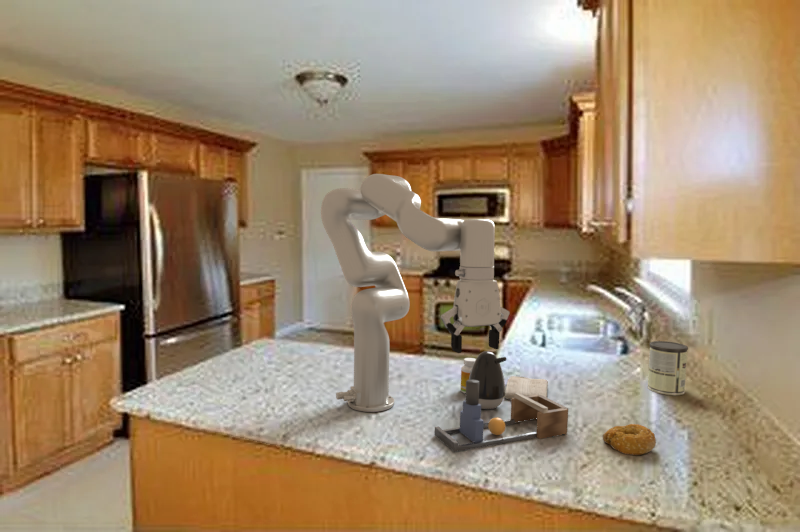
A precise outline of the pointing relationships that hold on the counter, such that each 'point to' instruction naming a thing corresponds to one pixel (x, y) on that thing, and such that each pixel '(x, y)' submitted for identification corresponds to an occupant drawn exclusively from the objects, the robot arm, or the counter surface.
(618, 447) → the bagel
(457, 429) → the track
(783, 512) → the counter surface
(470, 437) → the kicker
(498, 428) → the ball
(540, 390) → the washcloth
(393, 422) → the counter surface
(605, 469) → the counter surface
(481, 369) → the pump dispenser
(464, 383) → the supplement bottle
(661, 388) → the coffee can
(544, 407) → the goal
